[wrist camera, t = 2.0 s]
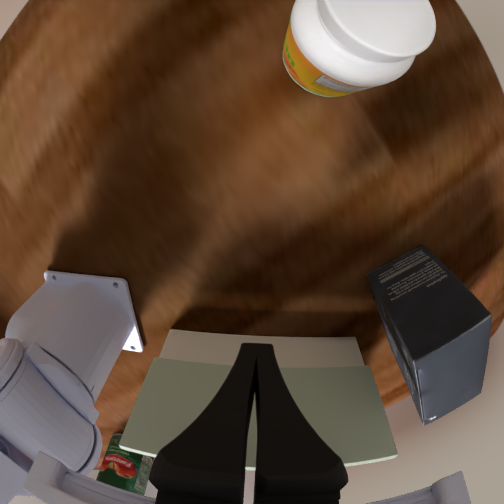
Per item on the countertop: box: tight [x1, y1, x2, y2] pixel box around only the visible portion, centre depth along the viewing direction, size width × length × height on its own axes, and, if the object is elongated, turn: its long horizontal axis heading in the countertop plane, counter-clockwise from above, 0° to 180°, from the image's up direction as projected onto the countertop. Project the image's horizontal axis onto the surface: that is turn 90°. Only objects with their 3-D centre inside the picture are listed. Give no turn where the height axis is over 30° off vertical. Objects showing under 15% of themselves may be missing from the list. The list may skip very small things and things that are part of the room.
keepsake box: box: [159, 329, 365, 368], centre depth 23 cm, size 16×8×4 cm, turn 88°
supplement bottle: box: [283, 0, 436, 97], centre depth 10 cm, size 5×5×10 cm
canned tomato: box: [96, 433, 154, 496], centre depth 31 cm, size 8×8×11 cm
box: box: [367, 245, 492, 425], centre depth 17 cm, size 9×6×10 cm, turn 30°
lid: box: [119, 357, 398, 470], centre depth 16 cm, size 16×8×1 cm
